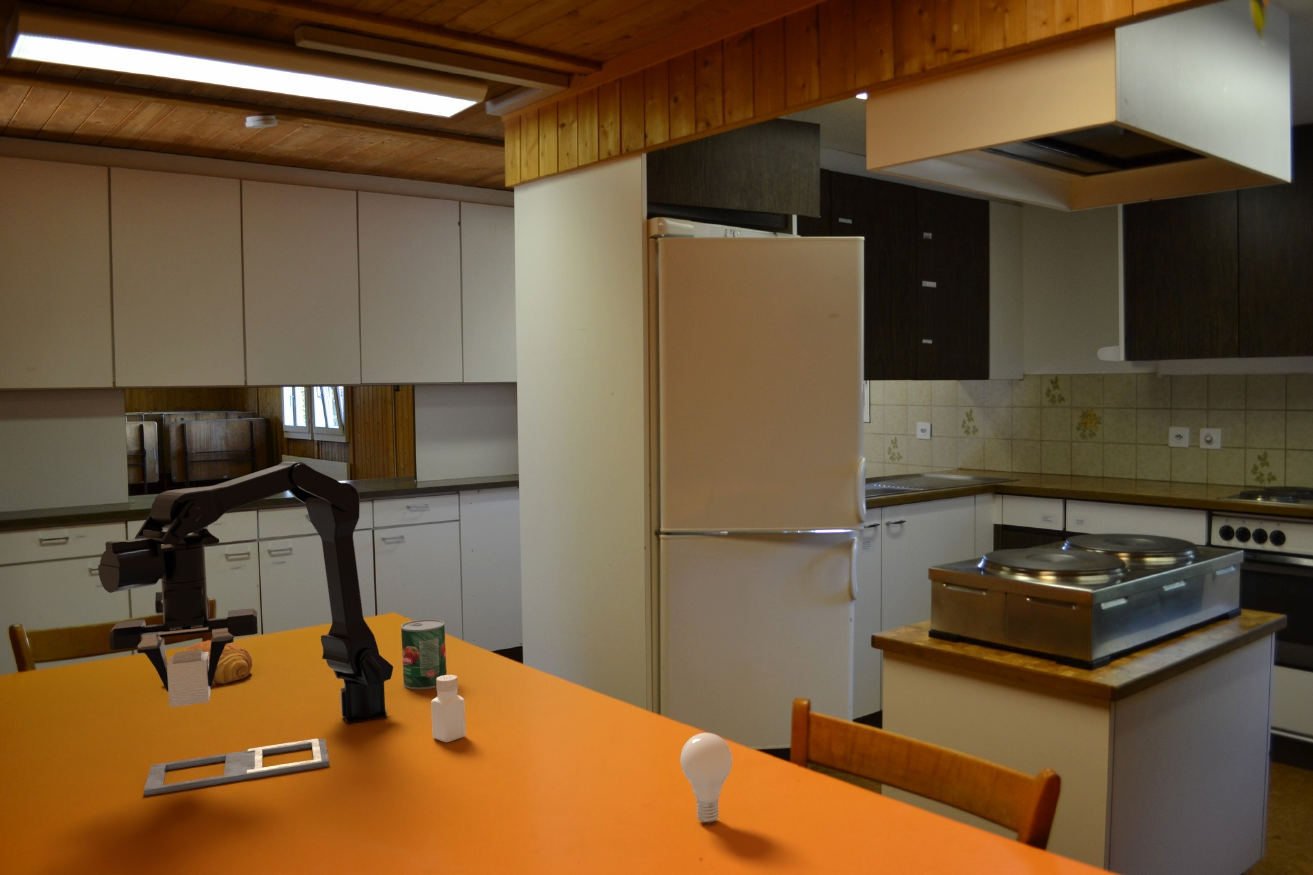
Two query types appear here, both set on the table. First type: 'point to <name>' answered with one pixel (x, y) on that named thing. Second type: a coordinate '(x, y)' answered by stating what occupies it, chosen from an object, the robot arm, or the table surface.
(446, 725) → the pepper shaker
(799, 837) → the table surface
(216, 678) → the croissant
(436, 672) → the canned tomato
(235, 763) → the rail
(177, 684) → the grey upright rectangular block
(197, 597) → the robot arm
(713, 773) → the lightbulb
